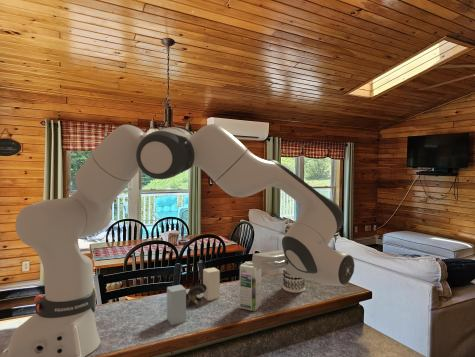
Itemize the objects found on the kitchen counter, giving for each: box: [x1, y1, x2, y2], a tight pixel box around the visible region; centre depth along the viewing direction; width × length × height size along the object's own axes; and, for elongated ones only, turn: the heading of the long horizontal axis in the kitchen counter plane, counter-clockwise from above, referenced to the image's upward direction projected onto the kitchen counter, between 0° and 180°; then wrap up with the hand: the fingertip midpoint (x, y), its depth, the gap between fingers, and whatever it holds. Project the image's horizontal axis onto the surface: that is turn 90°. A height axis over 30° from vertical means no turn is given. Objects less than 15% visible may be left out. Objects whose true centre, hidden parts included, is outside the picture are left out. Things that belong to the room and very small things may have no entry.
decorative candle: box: [282, 223, 306, 293], centre depth 125 cm, size 9×9×25 cm
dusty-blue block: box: [166, 284, 187, 326], centre depth 99 cm, size 4×4×10 cm
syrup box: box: [239, 261, 262, 312], centre depth 108 cm, size 6×6×14 cm
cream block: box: [202, 267, 221, 301], centre depth 117 cm, size 4×4×10 cm
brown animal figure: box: [186, 283, 207, 308], centre depth 111 cm, size 8×7×9 cm
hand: (268, 254), depth 100 cm, fingers closed
